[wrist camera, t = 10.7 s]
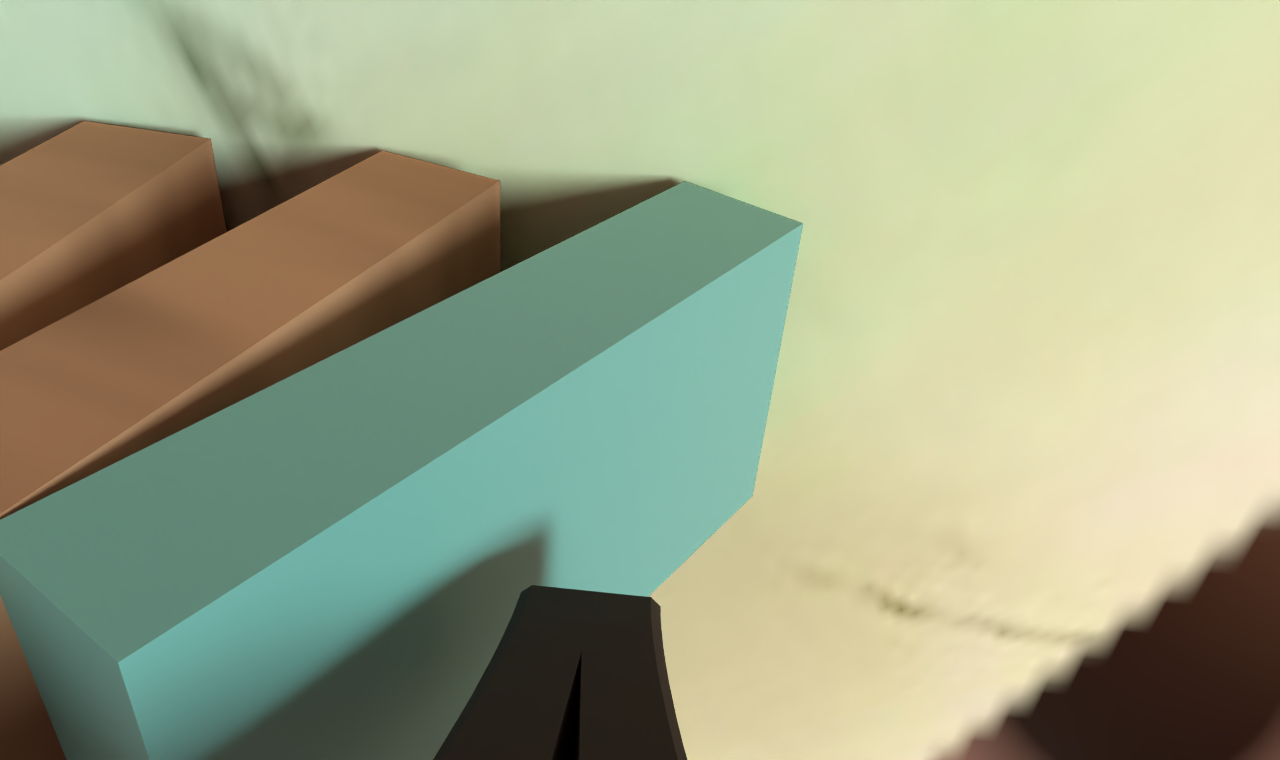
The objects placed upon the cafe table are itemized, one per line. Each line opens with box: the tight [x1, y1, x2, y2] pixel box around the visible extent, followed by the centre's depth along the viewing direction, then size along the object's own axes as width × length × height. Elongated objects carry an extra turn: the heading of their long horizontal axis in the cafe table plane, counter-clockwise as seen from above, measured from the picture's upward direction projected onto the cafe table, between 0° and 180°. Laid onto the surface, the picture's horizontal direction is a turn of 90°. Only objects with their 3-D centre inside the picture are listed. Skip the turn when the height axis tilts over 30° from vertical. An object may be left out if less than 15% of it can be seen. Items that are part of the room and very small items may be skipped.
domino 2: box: [0, 151, 500, 760], centre depth 12 cm, size 5×2×10 cm, turn 175°
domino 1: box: [0, 181, 803, 760], centre depth 12 cm, size 5×2×10 cm
